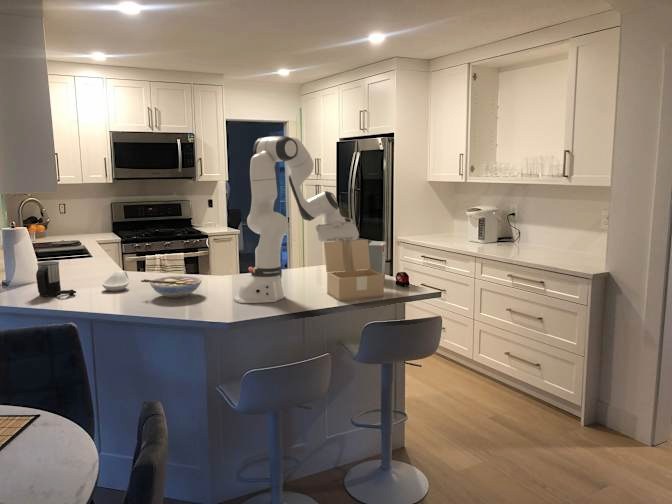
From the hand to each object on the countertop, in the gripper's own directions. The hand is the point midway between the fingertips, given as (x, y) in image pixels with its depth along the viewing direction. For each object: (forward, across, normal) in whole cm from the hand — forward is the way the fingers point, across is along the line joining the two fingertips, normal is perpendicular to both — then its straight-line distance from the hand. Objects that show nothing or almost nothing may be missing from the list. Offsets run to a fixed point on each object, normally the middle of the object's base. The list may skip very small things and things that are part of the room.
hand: (342, 246), depth 262 cm
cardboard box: (+25, 0, +4) cm, 25 cm away
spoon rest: (-14, -100, +44) cm, 110 cm away
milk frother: (-10, -126, +39) cm, 132 cm away
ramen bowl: (+6, -76, +23) cm, 80 cm away
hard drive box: (+9, +22, +20) cm, 31 cm away
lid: (+7, 0, -2) cm, 7 cm away
